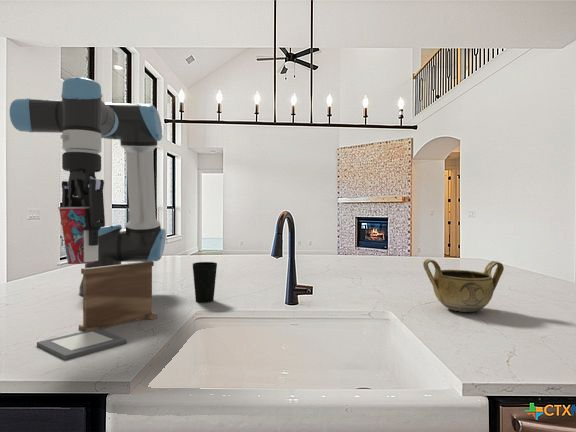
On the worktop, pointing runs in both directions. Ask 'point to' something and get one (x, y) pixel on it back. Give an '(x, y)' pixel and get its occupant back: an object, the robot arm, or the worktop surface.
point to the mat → (81, 343)
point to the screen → (116, 294)
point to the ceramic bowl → (464, 286)
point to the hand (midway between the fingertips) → (82, 259)
